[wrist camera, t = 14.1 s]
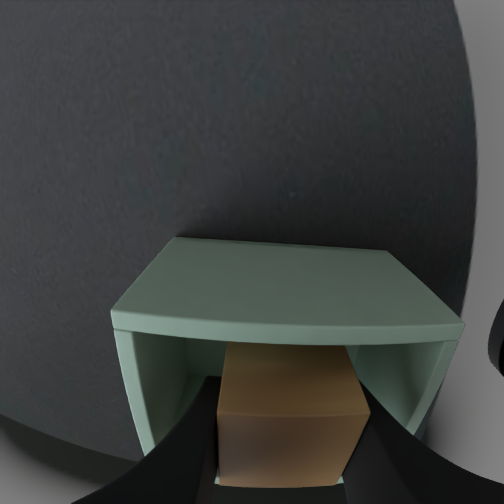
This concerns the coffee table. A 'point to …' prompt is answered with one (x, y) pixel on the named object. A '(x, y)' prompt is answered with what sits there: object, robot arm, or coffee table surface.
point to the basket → (277, 322)
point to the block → (287, 415)
